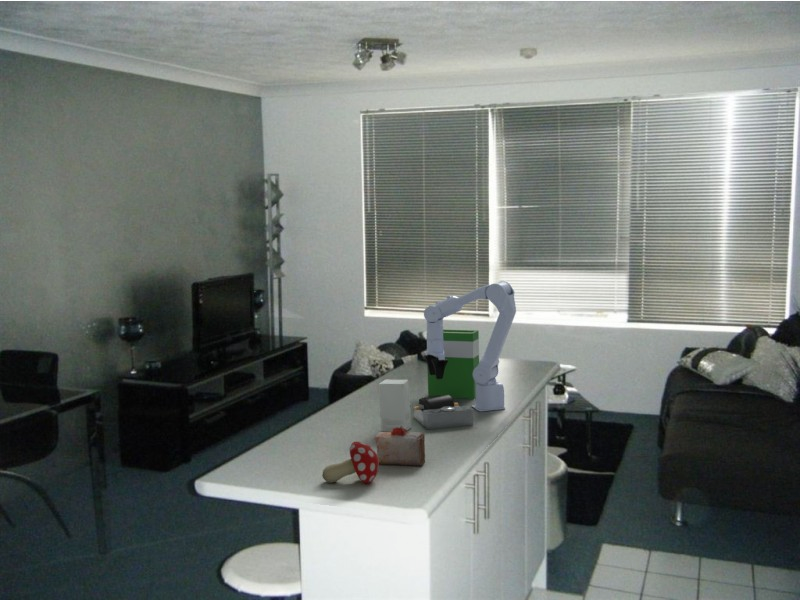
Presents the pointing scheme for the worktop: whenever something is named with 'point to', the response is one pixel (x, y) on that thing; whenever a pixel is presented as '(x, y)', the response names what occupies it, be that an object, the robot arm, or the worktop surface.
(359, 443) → the decorative mushroom
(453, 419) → the motor housing with clip cradle
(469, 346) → the green box
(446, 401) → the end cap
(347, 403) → the worktop surface
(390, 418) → the skincare box
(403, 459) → the food item
